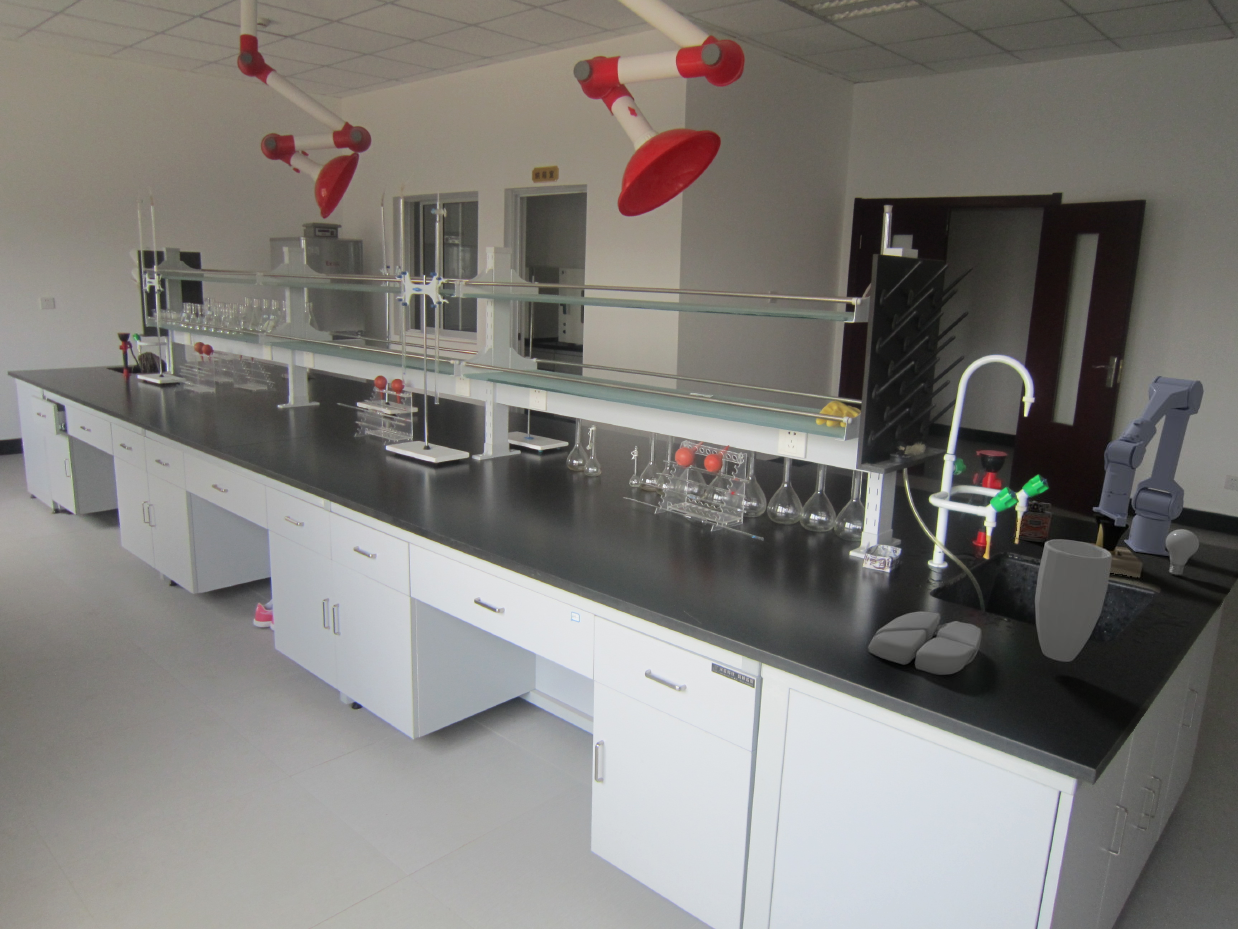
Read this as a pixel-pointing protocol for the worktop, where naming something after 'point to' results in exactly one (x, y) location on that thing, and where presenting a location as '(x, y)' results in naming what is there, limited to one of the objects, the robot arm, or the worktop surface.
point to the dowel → (1100, 540)
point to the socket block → (1125, 562)
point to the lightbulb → (1180, 549)
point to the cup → (1069, 595)
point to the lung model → (927, 643)
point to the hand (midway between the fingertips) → (1105, 547)
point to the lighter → (1035, 522)
